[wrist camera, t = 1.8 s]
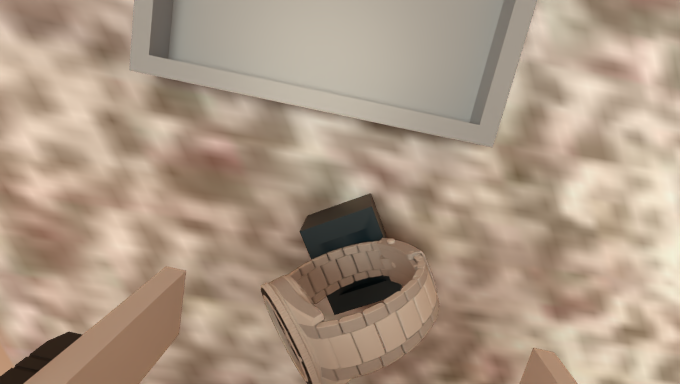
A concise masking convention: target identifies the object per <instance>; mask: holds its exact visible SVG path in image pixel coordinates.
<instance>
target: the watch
mask: <svg viewBox="0 0 680 384" xmlns="http://www.w3.org/2000/svg"><path fill="white" fill-rule="evenodd" d="M300 234H301V236H302V238H303V241H304V243H305V245H306V248H307V250H308V253H309V255H310V257H311V260H312V261H309V262H307V263H305V264H303V265H302V266H300V267H298V269H296V270H294V271H293V272H291V273H290V274H288V275H285V276H281V277H279V278H277V279H275V280H273V281H272V282H270V283H269V284H268V283H265V284H263V285H261V292H262V295H263V298H264V302H265V304H266V307H267V310H268V312H269V315H270V317H271V319H272V321H273V324H274V326H275V328H276V330H277V332H278V334H279V336H280V338H281V340H282V342H283V344H284V346H285V348H286V350H287V352H288V354H289V355H290V357H291V359H292V361H293V363H294V364H295V366H296V368H297V369H298V371H299V372H300V374H301V375H302V377H303V378H304V380H305V381H306V382H307V384H346V383H347V382H349V381H350V380H351V378H355V377H358V376H360V374H361V375H362V376H363V375H366V374H369V373H372V372H374V371H377V370H379V369H381V368H382V367H383V365H384V366H385V367H386V366H388V365H390V364H392V363H393V362H395V361H397V360H398V359H400V358H401V357H402V356H404V353H405V354H407V353H408V352H410V351H411V350H412V349H413V348H414V347H416V346H417V345H418V344H419V343H420V342H421V338H424V337H425V336H426V334H427V333H428V332H429V331H430V329H431V328H432V326H433V323H434V322H435V320H436V318H437V315H438V311H439V300H438V297H437V288H436V284H435V280H434V277H433V274H432V272H431V269H430V266H429V264H428V262H427V259H426V257H425V255H424V253H423V252H422V251H421V250H419V249H418V248H416V247H414V246H412V245H410V244H408V243H405V242H402V241H398V240H395V239H393V238H390V239H388V238H387V236H386V233H385V230H384V228H383V225H382V222H381V220H380V217H379V214H378V212H377V209H376V206H375V203H374V201H373V198H372V195H371V193H370V194H368V195H365V196H362V197H359V198H356V199H353V200H351V201H348V202H345V203H342V204H339V205H336V206H334V207H331V208H328V209H325V210H322V211H319V212H317V213H314V214H311V215H308V216H307V218H306V220H305V222H304V224H303V226H302V228H301V230H300ZM403 285H404V287H403ZM326 296H327V298H328V300H329V303H330V305H331V307H332V310H333V312H334V315H336V314H339V313H342V312H346V311H349V310H352V309H355V308H358V307H362V306H365V305H368V304H371V303H375V302H378V301H381V300H384V299H385V300H384V304H383V303H378V304H376V305H374V306H372V307H370V308H368V309H365V310H364V311H363V315H362V313H356V314H353V315H350V316H346V317H343V318H341V319H340V321H338V320H331V321H325V322H324V321H323V320H324V319H325V318H324V316H323V314H322V312H321V311H320V310H319V309H318V308H316V306H315V305H314V304H317V303H318V302H319V301H321V300H322V299H323V298H325V297H326ZM363 316H364V317H363ZM364 318H365V320H364ZM365 321H366V322H365ZM374 323H375V325H374ZM375 326H376V327H375ZM376 328H377V330H376ZM377 331H378V332H377ZM378 333H379V335H378ZM379 336H380V337H379ZM380 338H381V340H380ZM381 341H382V342H381ZM382 343H383V345H382ZM383 346H384V347H383ZM384 348H385V349H384ZM380 358H381V360H382V362H381V360H380ZM382 363H383V365H382Z"/></svg>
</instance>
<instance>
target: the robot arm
mask: <svg viewBox="0 0 680 384" xmlns="http://www.w3.org/2000/svg"><path fill="white" fill-rule="evenodd" d="M185 276H186V271H185V270H180V269H176V268H171V267H167V266H166V267H165V268H164V269H162V270H161V271H160V272H159V273H158V274H156V275H155V276H154V277H153V278H151V279H150V280H149V281H148V282H147V283H145V284H144V285H143V286H142V287H140V288H139V289H138V290H137V291H136V292H134V293H133V294H132V295H131V296H130V297H128V298H127V299H126V300H125V301H123V302H122V303H121V304H120V305H119V306H117V307H116V308H115V309H114V310H112V311H111V312H110V313H109V314H108V315H106V316H105V317H104V318H103V319H102V320H100V321H99V322H98V323H97V324H95V325H94V326H93V327H92V328H91V329H89V330H88V331H87V332H86V333H84V334H83V335H81V334H77V333H73V332H67V333H65V334H63V335H60V336H58V337H56V338H53V339H51V340H49V341H47V342H46V343H44V344H43V345H42V346H40V347H39V348H38V349H36V350H35V351H34V352H32V353H31V354H30V356H29V357H26V358H24V359H23V360H22V361H20V362H19V363H18V364H16V365H15V367H14V368H11V369H10V370H8V371H7V372H6V373H5V374H3V375H2V376H0V384H139V383H140V382H141V381H142V379H143V378H144V377H145V376H146V374H147V373H148V372H149V371H150V369H151V368H152V367H153V366H154V365H155V363H156V362H157V361H158V360H159V358H160V357H161V356H162V355H163V353H164V352H165V351H166V350H167V348H168V347H169V346H170V345H171V343H172V342H173V341H174V340H175V338H176V337H177V336H178V335H179V330H180V321H181V312H182V303H183V294H184V285H185ZM520 384H577V382H576V381H575V380H574V378H573V377H572V376H571V374H570V373H569V372H568V370H567V369H566V368H565V366H564V365H563V364H562V362H561V361H560V360H559V358H558V357H557V356H556V354H555V353H554V352H550V351H546V350H541V349H537V348H533V350H532V353H531V356H530V358H529V361H528V363H527V366H526V368H525V371H524V374H523V376H522V379H521V381H520Z"/></svg>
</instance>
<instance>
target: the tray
mask: <svg viewBox="0 0 680 384" xmlns="http://www.w3.org/2000/svg"><path fill="white" fill-rule="evenodd" d="M536 3H537V0H134V10H133V25H132V39H131V54H130V69H129V70H130V71H135V72H140V73H144V74H149V75H154V76H158V77H163V78H168V79H173V80H177V81H182V82H187V83H191V84H196V85H201V86H206V87H210V88H215V89H220V90H224V91H229V92H234V93H238V94H243V95H248V96H253V97H257V98H262V99H267V100H271V101H276V102H281V103H286V104H290V105H295V106H300V107H304V108H309V109H314V110H318V111H323V112H328V113H333V114H337V115H342V116H347V117H351V118H356V119H361V120H365V121H370V122H375V123H380V124H384V125H389V126H394V127H398V128H403V129H408V130H413V131H417V132H422V133H427V134H431V135H436V136H441V137H445V138H450V139H455V140H460V141H464V142H469V143H474V144H478V145H483V146H488V147H493V144H494V141H495V138H496V135H497V131H498V128H499V125H500V121H501V118H502V115H503V111H504V108H505V105H506V102H507V98H508V95H509V92H510V88H511V85H512V82H513V78H514V75H515V72H516V69H517V65H518V62H519V59H520V55H521V52H522V49H523V45H524V42H525V39H526V36H527V32H528V29H529V26H530V22H531V19H532V16H533V12H534V9H535V6H536Z"/></svg>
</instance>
